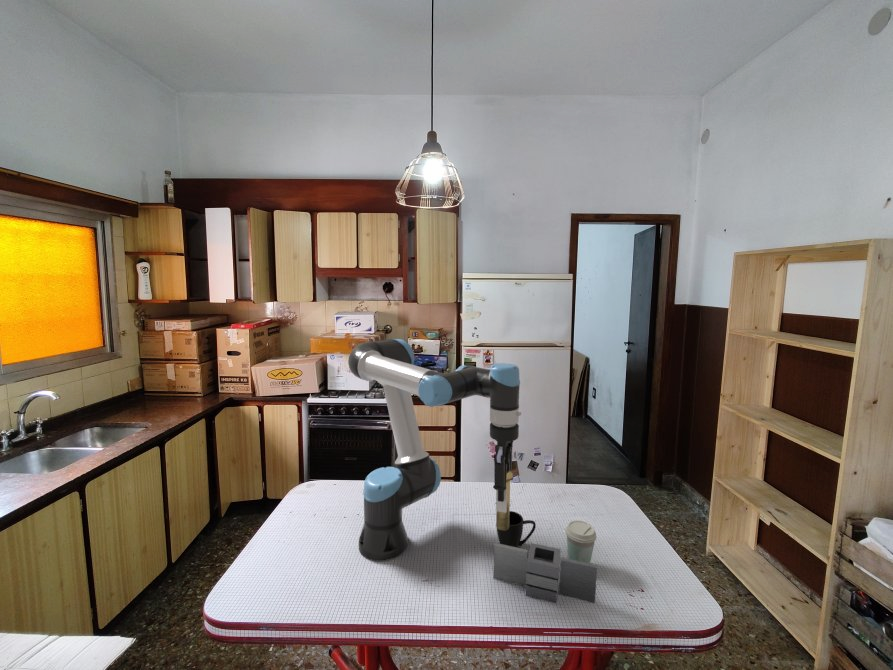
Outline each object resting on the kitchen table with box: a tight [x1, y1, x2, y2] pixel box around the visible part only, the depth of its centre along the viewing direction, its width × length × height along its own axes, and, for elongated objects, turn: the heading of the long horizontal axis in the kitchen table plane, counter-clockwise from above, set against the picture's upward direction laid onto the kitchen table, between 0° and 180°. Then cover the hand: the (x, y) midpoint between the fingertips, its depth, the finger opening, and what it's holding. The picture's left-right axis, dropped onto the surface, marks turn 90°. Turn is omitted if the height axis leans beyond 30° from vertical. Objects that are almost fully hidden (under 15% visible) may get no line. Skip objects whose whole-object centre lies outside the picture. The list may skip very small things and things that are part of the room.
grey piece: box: [492, 542, 561, 591], centre depth 112 cm, size 17×8×10 cm, turn 72°
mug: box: [496, 510, 537, 548], centre depth 128 cm, size 8×12×10 cm
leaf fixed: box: [525, 542, 598, 604], centre depth 109 cm, size 17×8×10 cm, turn 72°
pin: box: [495, 470, 514, 530], centre depth 110 cm, size 5×5×15 cm
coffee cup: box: [565, 519, 597, 564], centre depth 119 cm, size 8×8×12 cm
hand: (503, 507), depth 110 cm, fingers closed on pin, 3 cm apart
